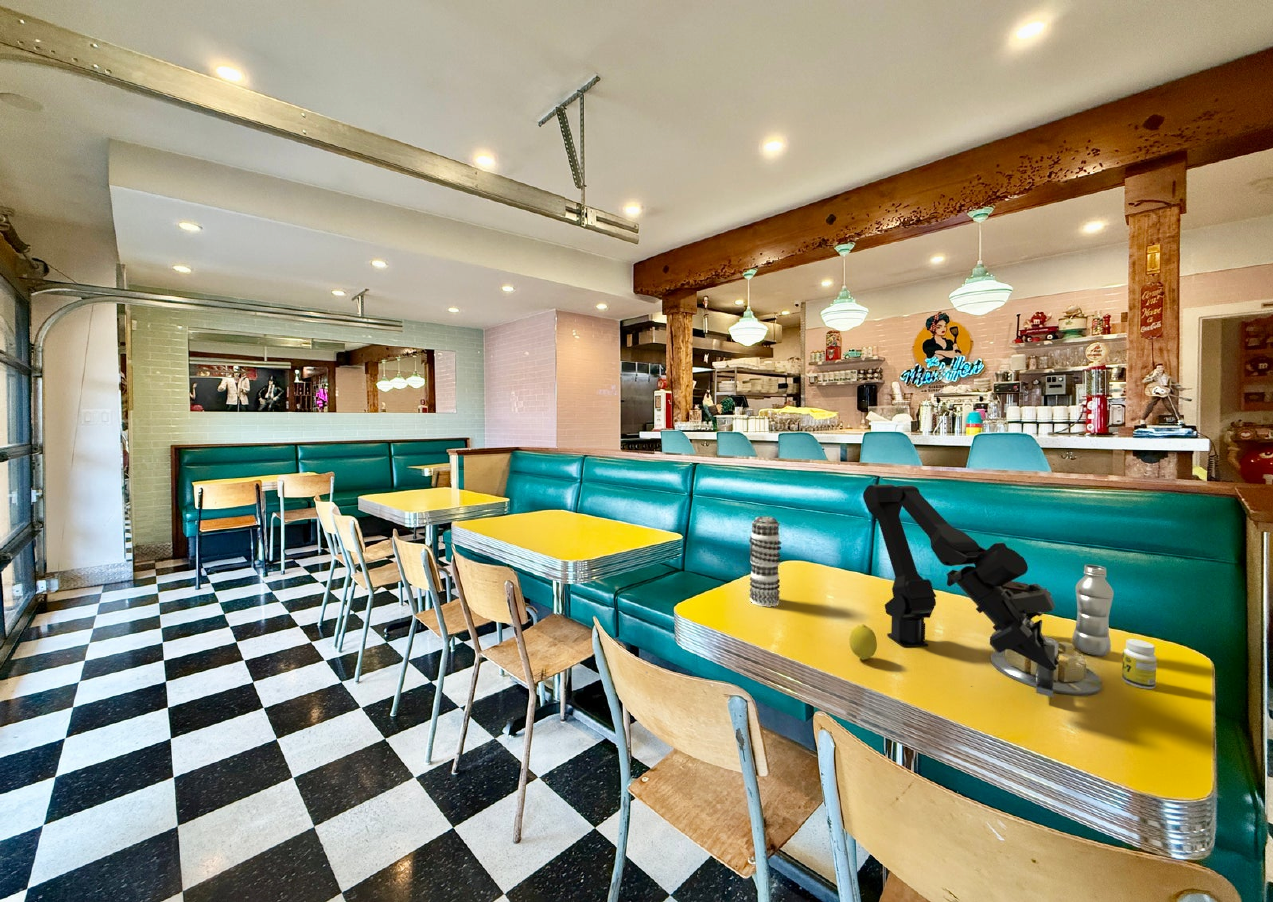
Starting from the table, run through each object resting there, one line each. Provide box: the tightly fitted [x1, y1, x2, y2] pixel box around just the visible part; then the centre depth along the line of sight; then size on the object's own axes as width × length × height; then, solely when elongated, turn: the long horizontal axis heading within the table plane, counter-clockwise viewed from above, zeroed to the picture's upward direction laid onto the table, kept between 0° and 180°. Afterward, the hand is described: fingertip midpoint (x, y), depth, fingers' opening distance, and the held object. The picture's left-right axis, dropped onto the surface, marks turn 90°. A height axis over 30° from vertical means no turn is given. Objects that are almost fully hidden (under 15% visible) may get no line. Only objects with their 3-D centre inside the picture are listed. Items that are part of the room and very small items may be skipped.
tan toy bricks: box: [1005, 641, 1088, 698], centre depth 100 cm, size 22×13×10 cm, turn 141°
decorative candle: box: [748, 516, 782, 608], centre depth 145 cm, size 9×9×25 cm
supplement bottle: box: [1121, 638, 1158, 690], centre depth 99 cm, size 5×5×8 cm
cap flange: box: [990, 635, 1103, 697], centre depth 104 cm, size 18×18×7 cm
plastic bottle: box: [1072, 564, 1115, 657], centre depth 112 cm, size 6×7×20 cm
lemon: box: [848, 623, 878, 661], centre depth 109 cm, size 6×6×8 cm
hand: (1055, 667), depth 92 cm, fingers closed on tan toy bricks, 2 cm apart
